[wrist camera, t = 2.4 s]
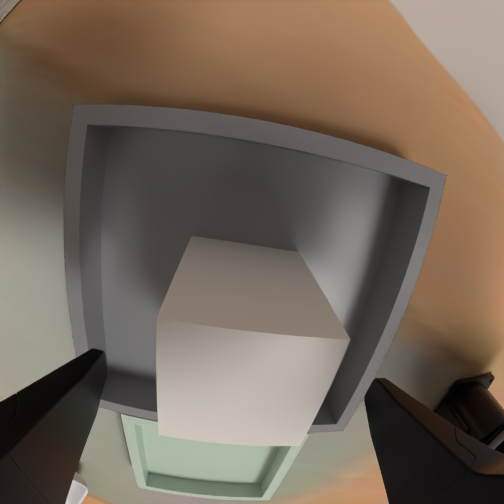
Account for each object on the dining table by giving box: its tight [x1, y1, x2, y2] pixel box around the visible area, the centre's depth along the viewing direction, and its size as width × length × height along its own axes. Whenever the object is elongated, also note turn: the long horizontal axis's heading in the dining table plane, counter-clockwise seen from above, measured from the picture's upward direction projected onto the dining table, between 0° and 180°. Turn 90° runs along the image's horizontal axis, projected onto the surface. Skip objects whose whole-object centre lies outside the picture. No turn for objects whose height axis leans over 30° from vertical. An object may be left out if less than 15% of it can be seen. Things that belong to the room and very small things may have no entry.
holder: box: [121, 413, 309, 500], centre depth 19 cm, size 12×12×2 cm
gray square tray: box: [64, 104, 447, 433], centre depth 14 cm, size 16×16×3 cm
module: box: [156, 236, 350, 446], centre depth 11 cm, size 5×5×7 cm
